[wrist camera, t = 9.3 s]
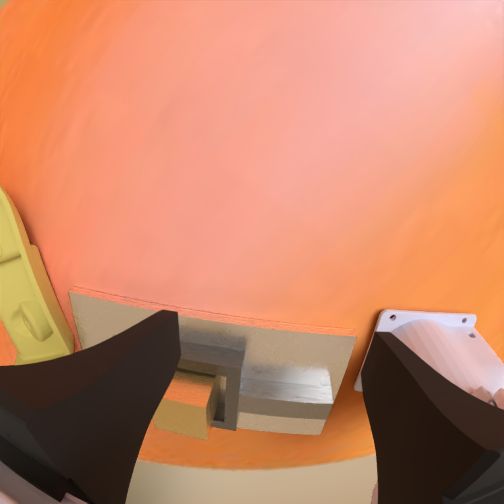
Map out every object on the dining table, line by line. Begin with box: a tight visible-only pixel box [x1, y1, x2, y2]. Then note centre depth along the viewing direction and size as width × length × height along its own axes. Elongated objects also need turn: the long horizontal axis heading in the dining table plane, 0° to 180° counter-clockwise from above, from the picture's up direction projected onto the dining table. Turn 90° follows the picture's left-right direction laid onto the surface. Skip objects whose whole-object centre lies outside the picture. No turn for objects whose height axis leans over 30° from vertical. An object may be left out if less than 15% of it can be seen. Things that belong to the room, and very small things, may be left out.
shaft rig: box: [69, 286, 357, 435], centre depth 22 cm, size 23×12×3 cm, turn 85°
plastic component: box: [0, 185, 75, 365], centre depth 21 cm, size 20×7×10 cm
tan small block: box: [153, 368, 221, 440], centre depth 19 cm, size 4×4×5 cm
